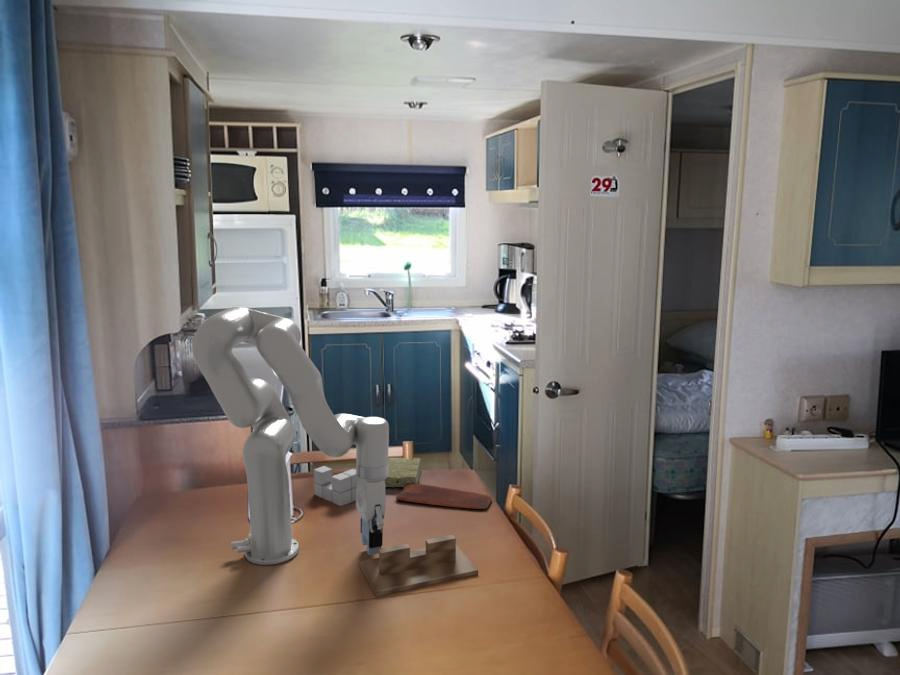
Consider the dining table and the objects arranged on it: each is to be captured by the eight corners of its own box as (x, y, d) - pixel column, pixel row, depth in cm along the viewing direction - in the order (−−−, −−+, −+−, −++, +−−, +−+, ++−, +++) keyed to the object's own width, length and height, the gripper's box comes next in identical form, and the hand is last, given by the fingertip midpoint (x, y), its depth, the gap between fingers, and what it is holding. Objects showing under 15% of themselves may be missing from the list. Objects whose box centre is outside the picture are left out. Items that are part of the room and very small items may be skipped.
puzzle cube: (372, 493, 200) (372, 467, 198) (341, 506, 191) (340, 480, 189) (346, 482, 207) (345, 457, 206) (314, 495, 199) (313, 469, 197)
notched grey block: (381, 553, 162) (381, 521, 161) (368, 555, 161) (369, 523, 159) (373, 540, 168) (373, 510, 166) (361, 542, 167) (361, 511, 165)
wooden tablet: (394, 502, 193) (393, 496, 193) (405, 486, 202) (405, 481, 202) (485, 513, 186) (485, 508, 186) (493, 496, 195) (493, 491, 195)
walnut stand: (376, 596, 146) (375, 568, 145) (359, 565, 159) (358, 539, 158) (478, 573, 155) (478, 547, 154) (454, 546, 168) (454, 521, 167)
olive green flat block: (357, 455, 219) (419, 448, 219) (360, 472, 220) (421, 465, 220) (348, 477, 201) (415, 470, 200) (351, 496, 202) (418, 489, 201)
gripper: (347, 458, 167) (347, 526, 171) (366, 485, 151) (365, 559, 155) (377, 455, 170) (376, 521, 173) (398, 481, 154) (397, 554, 158)
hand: (371, 539), depth 164 cm, fingers closed on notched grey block, 6 cm apart
